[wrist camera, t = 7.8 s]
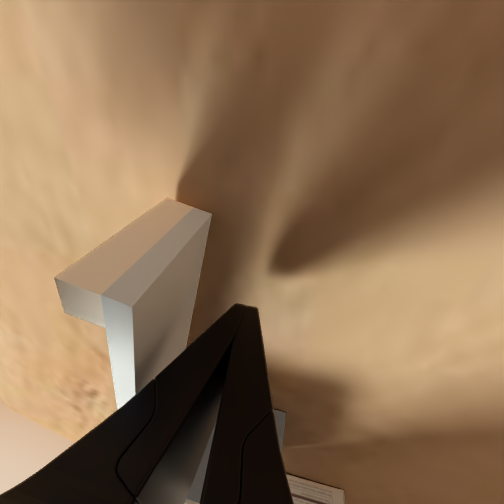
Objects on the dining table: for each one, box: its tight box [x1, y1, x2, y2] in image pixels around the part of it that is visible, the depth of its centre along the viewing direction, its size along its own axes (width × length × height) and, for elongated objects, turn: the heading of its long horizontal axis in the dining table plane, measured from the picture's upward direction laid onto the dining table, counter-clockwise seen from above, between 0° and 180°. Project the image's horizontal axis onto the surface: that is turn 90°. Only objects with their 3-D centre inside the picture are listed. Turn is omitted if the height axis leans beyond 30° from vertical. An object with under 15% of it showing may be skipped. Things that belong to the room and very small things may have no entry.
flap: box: [54, 198, 212, 410], centre depth 9 cm, size 11×2×4 cm, turn 165°
